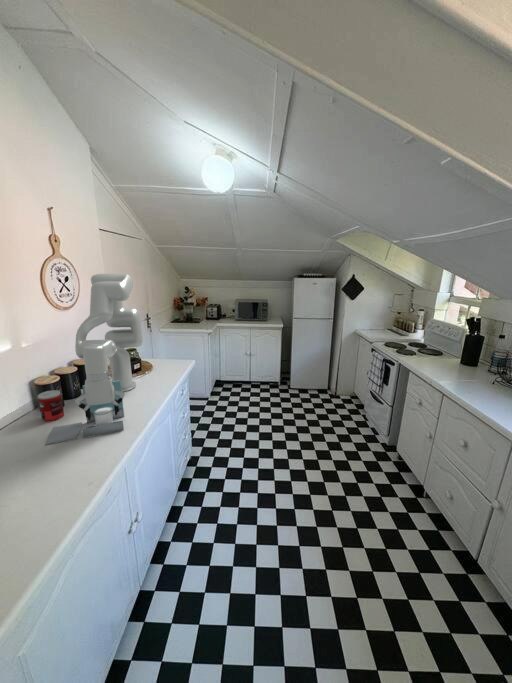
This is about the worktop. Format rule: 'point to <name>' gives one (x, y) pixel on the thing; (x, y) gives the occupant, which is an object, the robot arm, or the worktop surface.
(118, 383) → the panel
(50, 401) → the canned food
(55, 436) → the mat
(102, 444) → the worktop surface
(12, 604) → the worktop surface
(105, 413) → the shot glass
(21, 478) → the worktop surface
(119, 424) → the grey flat bars
